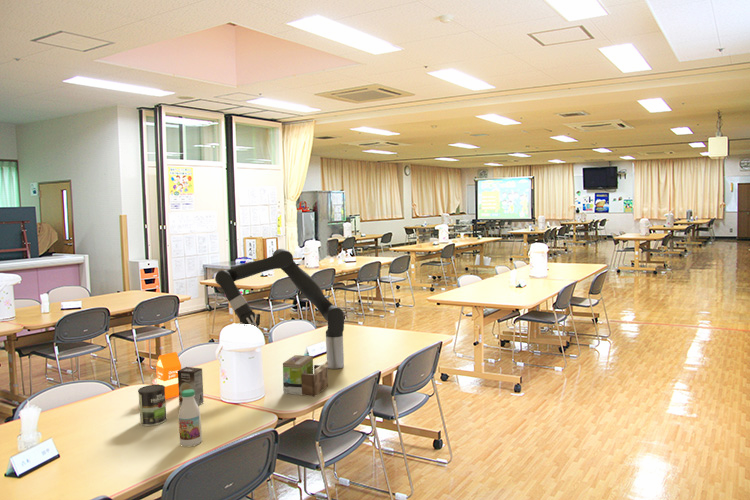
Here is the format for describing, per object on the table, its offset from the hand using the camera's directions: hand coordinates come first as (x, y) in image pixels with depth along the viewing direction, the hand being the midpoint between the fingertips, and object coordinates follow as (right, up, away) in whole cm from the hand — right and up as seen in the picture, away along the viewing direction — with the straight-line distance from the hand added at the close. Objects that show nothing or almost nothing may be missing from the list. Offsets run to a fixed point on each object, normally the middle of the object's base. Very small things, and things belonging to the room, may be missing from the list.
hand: (258, 335), depth 268 cm
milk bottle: (-11, -30, -65) cm, 73 cm away
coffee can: (-34, -29, -43) cm, 62 cm away
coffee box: (-25, -27, -24) cm, 44 cm away
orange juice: (-40, -27, -11) cm, 49 cm away
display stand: (+29, -24, -11) cm, 39 cm away
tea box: (+21, -25, -8) cm, 33 cm away
